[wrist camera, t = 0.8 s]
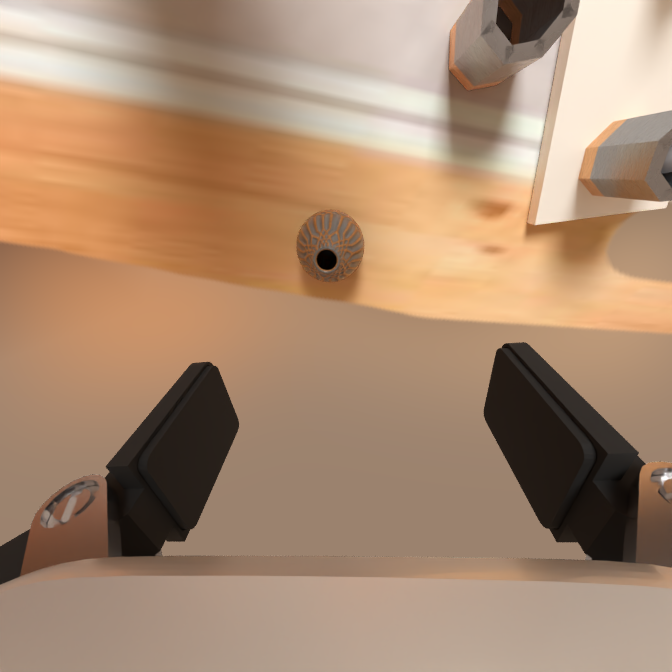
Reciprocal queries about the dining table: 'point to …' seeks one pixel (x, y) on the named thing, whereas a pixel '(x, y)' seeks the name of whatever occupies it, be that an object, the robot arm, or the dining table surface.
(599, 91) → the pin board
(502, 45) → the loose sleeve
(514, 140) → the dining table surface
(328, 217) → the vase
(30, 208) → the dining table surface
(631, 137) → the seated sleeve
